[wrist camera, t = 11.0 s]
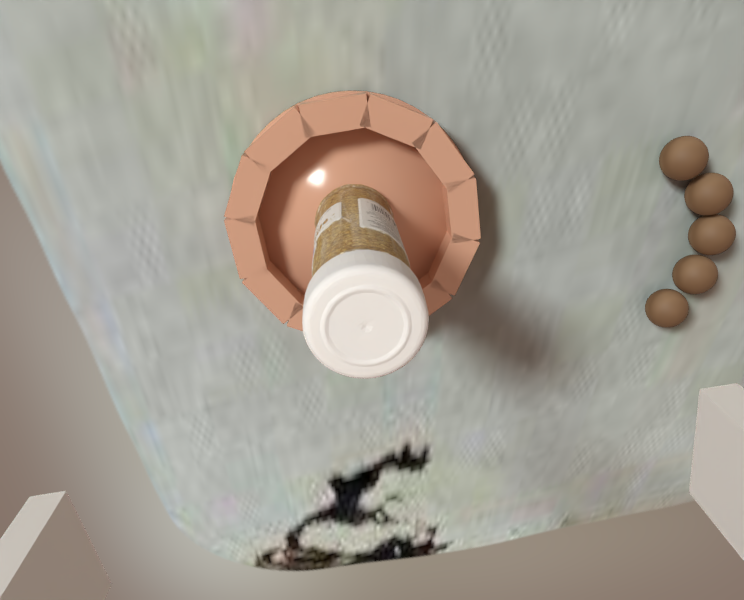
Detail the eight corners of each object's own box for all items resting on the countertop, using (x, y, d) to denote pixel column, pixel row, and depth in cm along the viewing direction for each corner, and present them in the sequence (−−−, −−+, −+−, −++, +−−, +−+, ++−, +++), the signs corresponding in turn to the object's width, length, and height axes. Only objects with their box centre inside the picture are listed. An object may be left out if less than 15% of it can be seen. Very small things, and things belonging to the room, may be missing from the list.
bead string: (644, 138, 32) (667, 144, 30) (729, 124, 32) (758, 129, 30) (637, 320, 36) (656, 337, 34) (710, 308, 36) (734, 324, 34)
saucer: (202, 114, 30) (192, 118, 28) (462, 69, 30) (471, 71, 28) (263, 342, 36) (258, 360, 34) (481, 306, 35) (490, 322, 33)
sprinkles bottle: (302, 199, 31) (279, 294, 19) (379, 170, 31) (406, 247, 19) (333, 271, 33) (330, 399, 21) (406, 244, 33) (447, 359, 20)
